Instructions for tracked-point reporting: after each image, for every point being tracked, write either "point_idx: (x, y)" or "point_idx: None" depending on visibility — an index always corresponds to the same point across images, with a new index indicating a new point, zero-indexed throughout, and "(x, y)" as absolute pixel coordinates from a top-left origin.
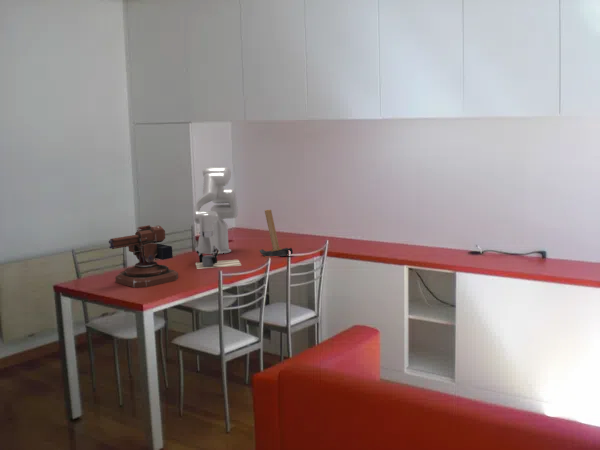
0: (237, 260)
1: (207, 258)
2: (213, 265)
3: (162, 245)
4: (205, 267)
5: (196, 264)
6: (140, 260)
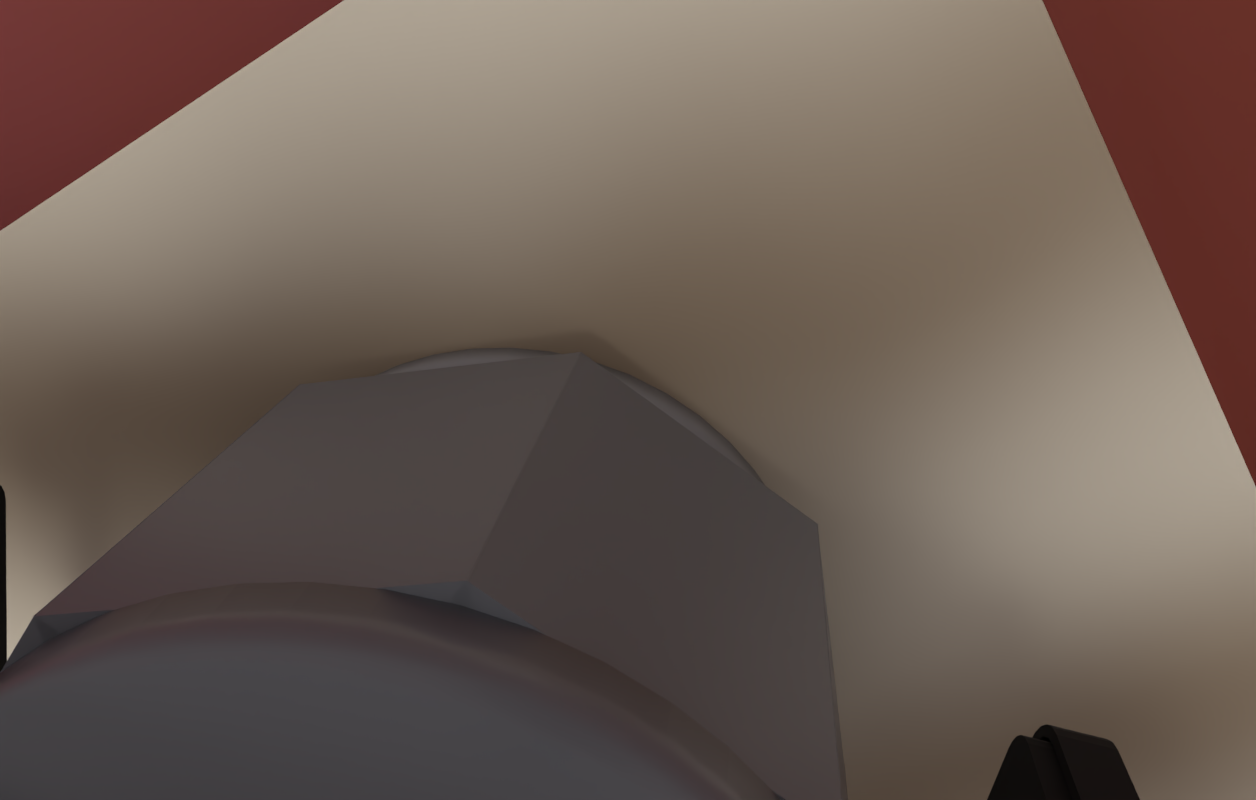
0: None
1: (109, 621)
2: None
3: None
4: (471, 184)
5: None
6: None
